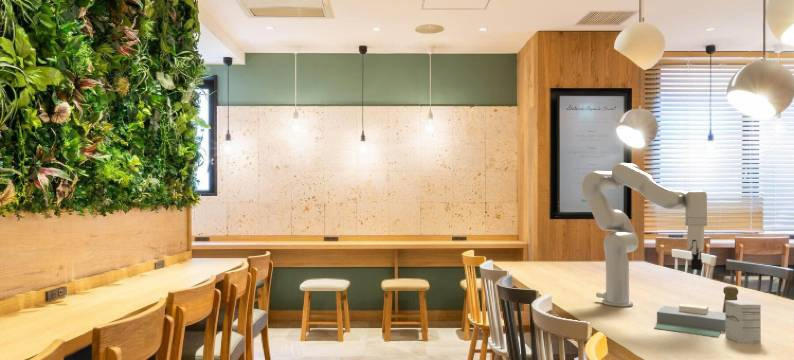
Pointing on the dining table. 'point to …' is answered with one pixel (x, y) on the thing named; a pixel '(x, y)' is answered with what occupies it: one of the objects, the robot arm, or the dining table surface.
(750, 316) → the supplement box
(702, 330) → the mat
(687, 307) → the card
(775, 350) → the dining table surface
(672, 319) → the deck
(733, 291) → the cork
